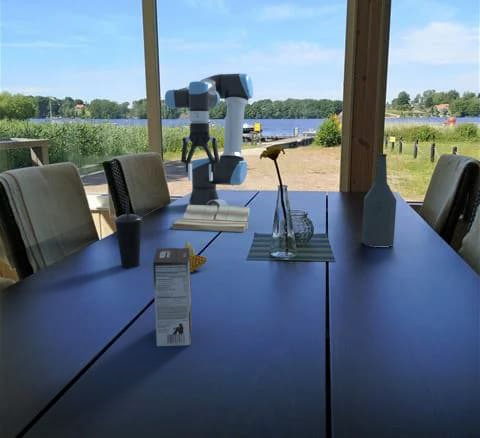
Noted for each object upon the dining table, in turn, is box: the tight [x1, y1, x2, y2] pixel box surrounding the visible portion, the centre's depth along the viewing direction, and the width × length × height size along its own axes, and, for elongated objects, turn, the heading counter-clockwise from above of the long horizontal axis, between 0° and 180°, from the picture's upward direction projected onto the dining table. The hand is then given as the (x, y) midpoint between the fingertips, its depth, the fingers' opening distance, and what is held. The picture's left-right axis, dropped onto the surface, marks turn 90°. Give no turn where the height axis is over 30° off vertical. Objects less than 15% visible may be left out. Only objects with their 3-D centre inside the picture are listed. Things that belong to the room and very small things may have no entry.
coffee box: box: [152, 247, 192, 347], centre depth 85 cm, size 9×6×16 cm
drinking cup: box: [113, 195, 143, 269], centre depth 127 cm, size 8×8×20 cm
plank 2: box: [215, 205, 251, 221], centre depth 182 cm, size 9×12×2 cm
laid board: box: [171, 218, 249, 233], centre depth 175 cm, size 9×28×2 cm, turn 79°
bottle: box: [361, 153, 397, 246], centre depth 148 cm, size 10×10×30 cm
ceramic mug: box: [206, 198, 229, 218], centre depth 198 cm, size 11×8×8 cm
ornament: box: [184, 241, 208, 273], centre depth 128 cm, size 7×10×15 cm
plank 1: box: [182, 204, 218, 220], centre depth 185 cm, size 9×12×2 cm
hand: (200, 180), depth 182 cm, fingers open, 8 cm apart
